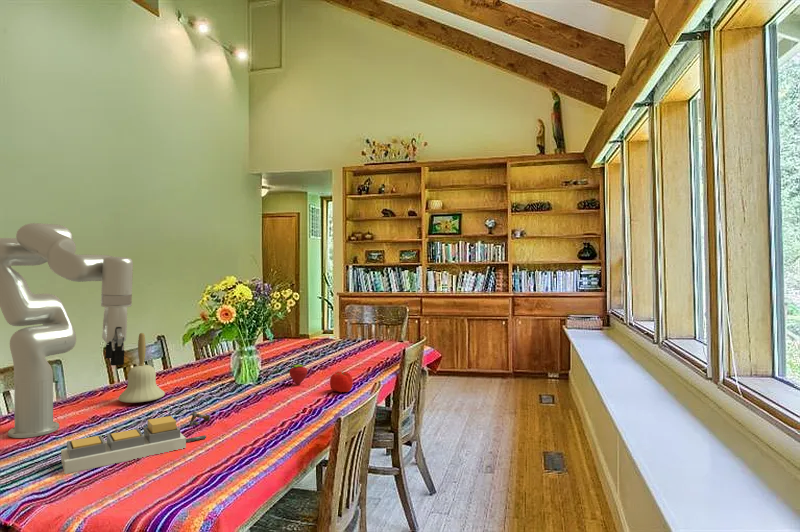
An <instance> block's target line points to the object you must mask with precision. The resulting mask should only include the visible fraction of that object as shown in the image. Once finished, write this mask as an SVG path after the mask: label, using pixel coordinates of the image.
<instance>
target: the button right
mask: <svg viewBox="0 0 800 532" xmlns="http://www.w3.org/2000/svg"><path fill="white" fill-rule="evenodd" d="M176 426H177V420H176V419H175V418H173V416H172V415H168V416H162V417H155V418H150V419H147V427H148V429H149V430H150V431H151V432H152V433H158V432H163V431H169V430H174V429H176Z"/></svg>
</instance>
